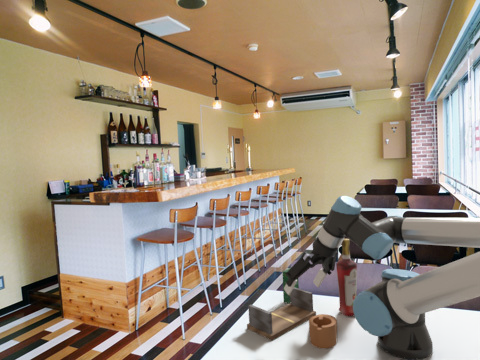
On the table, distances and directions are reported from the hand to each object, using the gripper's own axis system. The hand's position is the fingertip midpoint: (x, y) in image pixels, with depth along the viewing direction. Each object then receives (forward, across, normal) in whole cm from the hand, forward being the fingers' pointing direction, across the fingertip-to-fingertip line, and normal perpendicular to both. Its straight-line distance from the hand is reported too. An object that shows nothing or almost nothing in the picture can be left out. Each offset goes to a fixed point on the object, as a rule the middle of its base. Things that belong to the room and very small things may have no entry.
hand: (301, 288), depth 118 cm
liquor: (+11, -22, +8) cm, 26 cm away
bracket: (+10, -5, +13) cm, 17 cm away
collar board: (+18, 0, 0) cm, 18 cm away
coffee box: (+24, -15, -11) cm, 30 cm away
